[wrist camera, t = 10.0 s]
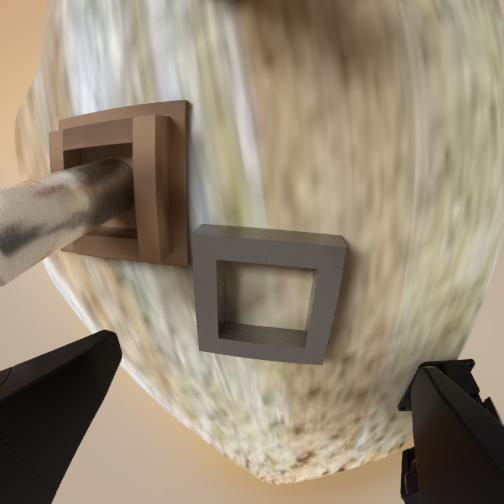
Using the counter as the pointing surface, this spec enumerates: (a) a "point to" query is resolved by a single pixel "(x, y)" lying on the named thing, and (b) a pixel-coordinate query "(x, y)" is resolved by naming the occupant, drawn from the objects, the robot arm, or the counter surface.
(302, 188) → the counter surface
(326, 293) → the socket block
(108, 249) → the brown square tray
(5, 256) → the silver metal cylinder
